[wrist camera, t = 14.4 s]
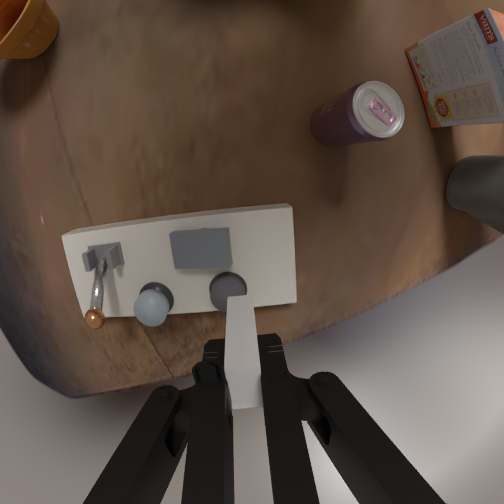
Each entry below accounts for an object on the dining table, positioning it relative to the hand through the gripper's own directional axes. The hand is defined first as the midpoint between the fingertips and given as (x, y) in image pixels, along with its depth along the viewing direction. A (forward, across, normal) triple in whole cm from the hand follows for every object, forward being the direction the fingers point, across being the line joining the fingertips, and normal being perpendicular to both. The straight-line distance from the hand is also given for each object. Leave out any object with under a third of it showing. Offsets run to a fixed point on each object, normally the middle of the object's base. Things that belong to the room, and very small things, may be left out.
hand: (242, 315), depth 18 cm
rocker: (+18, -5, -1) cm, 18 cm away
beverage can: (+24, +14, +13) cm, 31 cm away
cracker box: (+25, +33, +21) cm, 46 cm away
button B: (+17, -12, -8) cm, 23 cm away
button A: (+19, -2, -7) cm, 20 cm away
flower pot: (+24, -31, +38) cm, 55 cm away
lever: (+18, -18, -1) cm, 26 cm away
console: (+23, -9, -4) cm, 25 cm away
